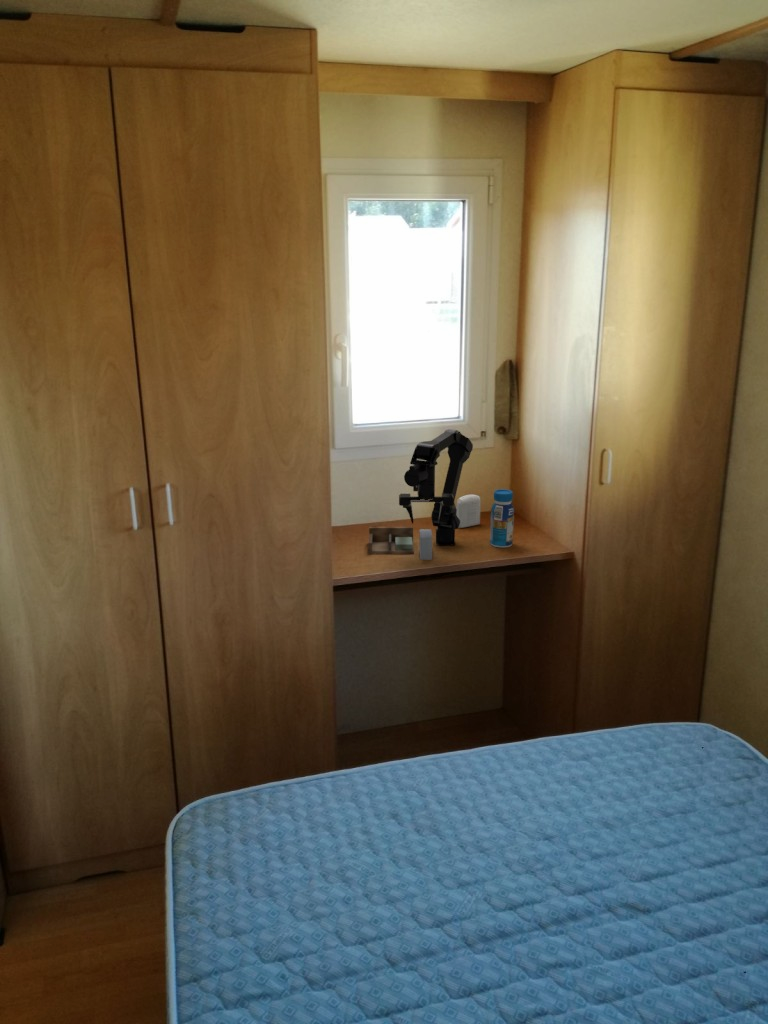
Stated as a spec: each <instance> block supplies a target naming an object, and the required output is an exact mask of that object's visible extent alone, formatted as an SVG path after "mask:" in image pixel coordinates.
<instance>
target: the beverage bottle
mask: <svg viewBox="0 0 768 1024" xmlns="http://www.w3.org/2000/svg"><path fill="white" fill-rule="evenodd" d="M493 491H494V492H493V501H494V502H493V504H492V506H491V509H490V511H491V514H490V533H489V538H490V539H489V543H490V545H491V546H492V547H494V548H503V549H504V548H509V547H511V546H513V539H514V521H515V515H514V513H515V508H514V505H513V503H512V502H513V498H514V492H513V490H511V489H505V488H504V489H500V488H499V489H496V490H493Z"/></svg>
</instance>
